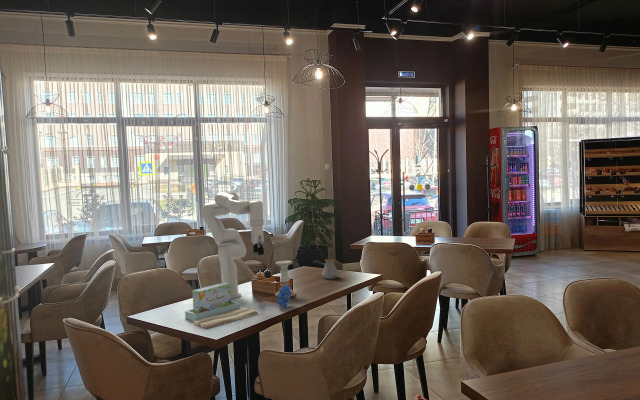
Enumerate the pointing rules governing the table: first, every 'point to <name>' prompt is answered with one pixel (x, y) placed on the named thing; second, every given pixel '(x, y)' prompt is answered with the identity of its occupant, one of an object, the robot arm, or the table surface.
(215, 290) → the snack box
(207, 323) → the board
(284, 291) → the grapes
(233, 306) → the bin
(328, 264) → the coffee pot
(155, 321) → the table surface
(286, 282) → the candle holder
